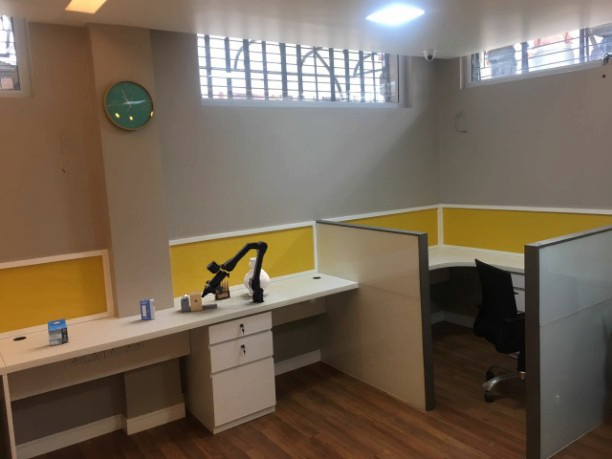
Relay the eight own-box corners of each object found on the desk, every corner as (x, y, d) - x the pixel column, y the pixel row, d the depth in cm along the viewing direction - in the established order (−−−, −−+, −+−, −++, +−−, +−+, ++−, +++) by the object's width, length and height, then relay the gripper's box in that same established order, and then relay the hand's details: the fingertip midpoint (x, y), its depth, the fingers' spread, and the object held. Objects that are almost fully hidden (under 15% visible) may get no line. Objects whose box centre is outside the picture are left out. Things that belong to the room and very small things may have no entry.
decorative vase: (265, 297, 355) (263, 260, 351) (240, 297, 359) (238, 260, 356) (274, 291, 372) (271, 255, 368) (250, 290, 376) (247, 255, 373)
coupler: (216, 305, 341) (215, 290, 340) (217, 308, 335) (216, 292, 333) (181, 309, 337) (180, 293, 335) (181, 312, 330) (180, 296, 329)
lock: (201, 306, 340) (200, 291, 339) (202, 310, 332) (201, 294, 331) (190, 307, 338) (189, 292, 337) (190, 311, 330) (189, 295, 329)
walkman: (141, 320, 318) (139, 300, 316) (142, 318, 321) (141, 299, 319) (154, 319, 318) (152, 299, 317) (155, 318, 321) (154, 298, 319)
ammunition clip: (215, 300, 354) (214, 283, 352) (214, 300, 355) (213, 282, 354) (230, 297, 360) (229, 280, 358) (229, 297, 361) (227, 279, 360)
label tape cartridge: (50, 346, 279) (47, 323, 277) (49, 344, 282) (46, 321, 281) (68, 342, 284) (66, 320, 282) (67, 340, 287) (65, 318, 285)
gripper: (229, 289, 329) (212, 309, 328) (226, 283, 347) (210, 301, 346) (215, 278, 326) (198, 297, 325) (213, 272, 344) (197, 290, 343)
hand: (201, 297), depth 335 cm, fingers closed
